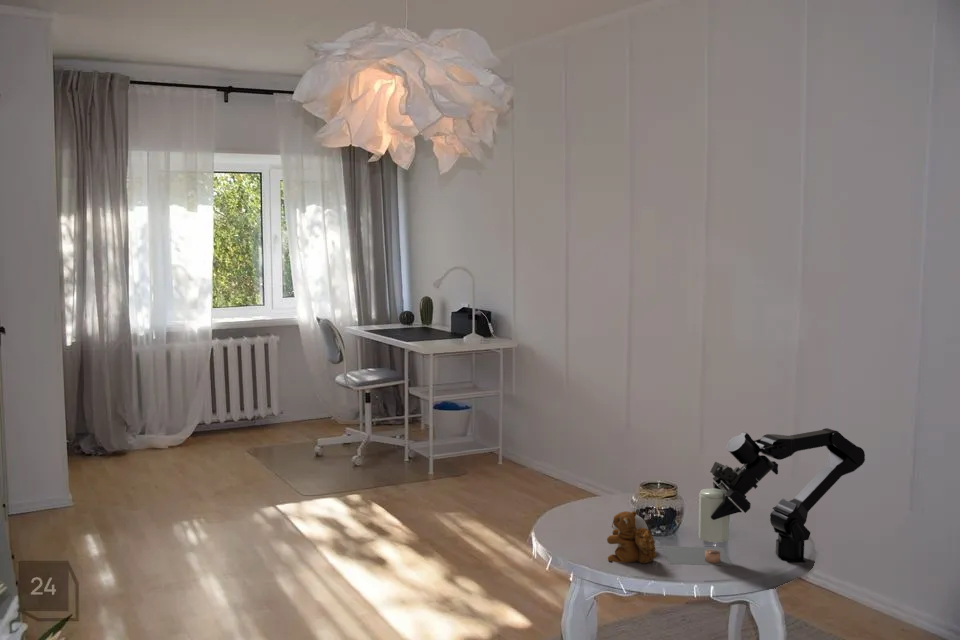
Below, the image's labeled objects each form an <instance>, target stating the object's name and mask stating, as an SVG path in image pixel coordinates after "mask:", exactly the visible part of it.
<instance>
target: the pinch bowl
mask: <svg viewBox="0 0 960 640" xmlns="http://www.w3.org/2000/svg"><path fill="white" fill-rule="evenodd" d="M705 561H706V562H708V563H712V564H717V563H720V551H718V550H712V549H709V550H706V551H705Z"/></svg>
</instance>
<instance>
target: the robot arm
mask: <svg viewBox="0 0 960 640" xmlns="http://www.w3.org/2000/svg"><path fill="white" fill-rule="evenodd" d="M821 447H822V448H823V447H825V448H826V449H827V450H828V451H829V453H828V458H827V461H826V464H825V466H823V468H822V469H821V470H820V471H819V472H818V473H817V474H816V475H815V476H813V478H812V479H811V480H810V481H809V482H808V483H807V484H806V485H805V486H804V487H803V488H802V490H801V491H800V492H799V493H798V494H797V495H796V496H795V497H794V498H792V499H791V500H787V499H785V498H781V499H780V501H778V503H777V504H776V505H775V506H774V507H772V511H771V512H770V515H769V517H770V519H769V521H770V524H771V526H772V528H773V531H774V533H777V534H778V535H777V538H778V539H777V538H776V539H775V555H776V556H777V557H778V558H779V559H780V560H781V561H782V562H783V561H784V562H789V563H790V562H792V563H793V562H795V563H797V562H798V563H806V561H807V560H806V558H805V541H809V540H810V539H809V538H810V536H811V531H809V529H808V528H807V526H805V524H806V523H807V518H808V513H809V511H811V509H812V508H813V507H814V506H815V505H816V504H817V503H818V502H819V501H820V500H821V499H822V498H823V497H824V496H825V495H826V493H827V492H828V491H829V490H830V489H831V488H832V487H833V486H834V485H835V484H836V482H838V481H839V480H840V479H841V478H842V476H846V475H848V474H850V473H854V472H855V471H856V470H858V469H859V468H860V467H861V466H863V465H864V463H865V462H866V461H865V460H866V457H865V456H866V454H865V451H864V449H863V448H862V447H860V446H857V445H856V444H855V443H853V442H852V441H850V440H849V439H847V438H846V437H845V436H844V435H842V433H840V431H837V430H835V429H831V428H827V427H826V428H823V429H821V430H820V429H819V430H812V431H810V432H801V433H796V434H791V435H785V434H776V433H775V434H774V433H771V434H769V433H767V434H764V435H762V437H761V438H758V439H753V438H752V437H751V435H750V434H749V433H748V432H744V431H742V432H741V433H740V434H738V435H735V436H733V437H732V438H730V439H729V440H728V442H727V444H726V450H727V451H728V452H729V453H730V454H731V455H732V456H733V457H734V459H736V460H737V462H739V463H740V464H741V465H742V466H741V467H740V466H736V467H735V468H734V469H733V468H732V467H731V466H729V465H728V464H726V465H724V464H722V463H719V462H717V461H714V463H713V465H712V467H711V469H710V474H711V473H712V476H714V477H713V478H712V480H713V482H712V485H713V488H714V489H721V490H725V491H727V493H726V494H727V495H728V496H729V497H727V496H726V495H725V494H723V502H722V503H721V504H720V505H719V507H718V508H717V509H716V510H715V512H714V513H713V514H712V516H711V518H712V519H713V520H715V519H718V518H722V517H725V516H728V515H729V516H731V515H734V514H737V513H742V512H744V513H745V514H746V513H747V512H748V511H749V510H750V509H751V505H752V503H751V502H750V501H749V500H748V499H747V493H749V491H751V490H752V489H753V488H754V489H755V490H756V489H757V488H758V487H759V486H758V485H757V484H758V483H759V482H760V481H762V479H764V478H765V477H766V476H767V475H768V473H769V474H770V472H771V471H772V472H773V474H775V475H778V474H779V464H778V463H777V462H776V461H775V460H779V461H780V460H784V459H786V458H790V457H792V456H793V455H794V454H795V453H797V452H800V451H805V450H811V449H816V448H821ZM760 453H761V455H760ZM768 457H771V458H773V459H775V460H774V461H772V460H770V459H769V458H768Z"/></svg>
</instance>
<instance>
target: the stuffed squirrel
mask: <svg viewBox="0 0 960 640" xmlns="http://www.w3.org/2000/svg"><path fill="white" fill-rule="evenodd" d="M636 515H638V514H637V511H622V512H619V513H617V514H615V515H614V516H613V519H612V524H611V528H612V530H613V527H614V526H615V527H616V528H617V529H615V530H613V531H612V534H611V535H608V536H607V538H606V541H607V544H609V545H616V546H615V548H616V549H615V551H614V554H613V553H612V554H610V555H608V556H607V561H609V562H611V563H613V562H616V563H623V564H629V563H631V564H632V563H636V562H638V563H639V564H648V563H650V562H652V561H654V560H655V558H656V556H657V555H658V554H657V553H656V550H657V549H656V546H655V543H656V541H655V540H654V537H653V536H652V534H651V531H650V530H649V528H648V529H646V528H639V529H637V528H636V526H635V516H636Z"/></svg>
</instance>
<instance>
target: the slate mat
mask: <svg viewBox="0 0 960 640" xmlns="http://www.w3.org/2000/svg"><path fill="white" fill-rule="evenodd" d="M661 547H662V550H663V553H664V554H665V557H666V559H667V562H668V565H669V564H670V565H691V566H692V565H693V566H694V565H697V566H699V565H700V566H730V567H734V563H733V562H732V560H731V558H730V557H729V555H728V553H727V552H726V550H725V548H724V547H716V546H715V547H708V546H678V545H675V546H674V545H671V546H668V545H662V546H661ZM709 549H712V550H718V551H720V563H717V564H712V563H708V562H706V561H705V551H706V550H709Z"/></svg>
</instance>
